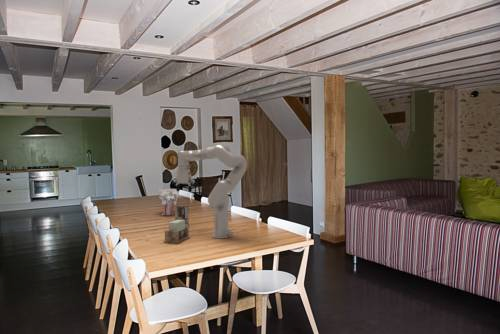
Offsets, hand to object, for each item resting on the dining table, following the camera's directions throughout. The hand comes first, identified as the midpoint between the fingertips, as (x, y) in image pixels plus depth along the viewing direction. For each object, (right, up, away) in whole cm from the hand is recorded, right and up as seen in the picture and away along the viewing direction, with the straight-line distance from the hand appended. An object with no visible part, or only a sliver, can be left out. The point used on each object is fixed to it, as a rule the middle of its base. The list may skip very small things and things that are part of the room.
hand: (184, 191), depth 265 cm
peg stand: (-1, -32, -20) cm, 37 cm away
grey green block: (-1, -25, -20) cm, 32 cm away
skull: (-25, -27, +69) cm, 78 cm away
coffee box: (-5, -29, +21) cm, 37 cm away
